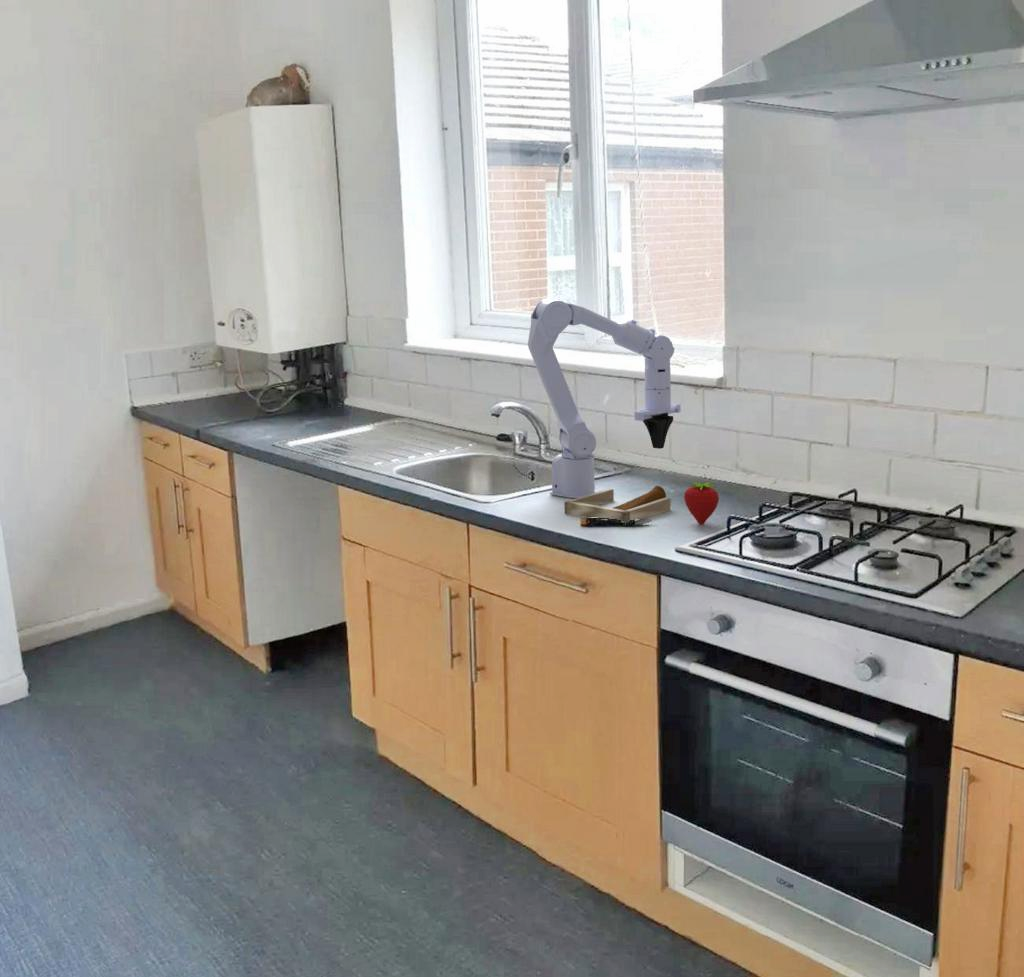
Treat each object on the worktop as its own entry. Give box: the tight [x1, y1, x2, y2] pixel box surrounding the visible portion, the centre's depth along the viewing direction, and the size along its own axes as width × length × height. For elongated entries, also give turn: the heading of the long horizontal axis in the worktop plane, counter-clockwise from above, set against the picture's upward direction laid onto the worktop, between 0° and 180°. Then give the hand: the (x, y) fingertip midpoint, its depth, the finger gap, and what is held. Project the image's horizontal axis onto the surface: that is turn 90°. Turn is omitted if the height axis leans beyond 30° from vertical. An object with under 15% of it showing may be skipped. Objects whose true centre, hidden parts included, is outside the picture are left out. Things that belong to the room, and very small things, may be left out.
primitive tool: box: [612, 485, 667, 510], centre depth 232 cm, size 19×6×4 cm, turn 140°
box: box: [563, 488, 671, 525], centre depth 229 cm, size 16×15×2 cm
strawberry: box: [683, 474, 720, 525], centre depth 216 cm, size 6×8×10 cm
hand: (658, 447), depth 248 cm, fingers closed
